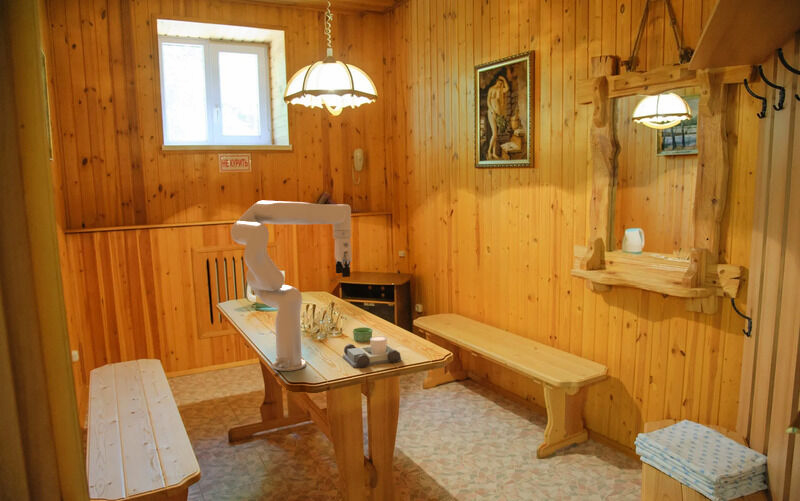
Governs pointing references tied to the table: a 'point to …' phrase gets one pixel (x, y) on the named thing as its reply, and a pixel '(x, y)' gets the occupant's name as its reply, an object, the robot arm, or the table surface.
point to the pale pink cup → (378, 345)
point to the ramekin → (362, 334)
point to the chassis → (369, 356)
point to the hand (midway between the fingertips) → (342, 274)
